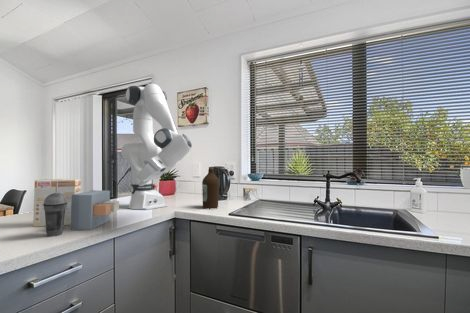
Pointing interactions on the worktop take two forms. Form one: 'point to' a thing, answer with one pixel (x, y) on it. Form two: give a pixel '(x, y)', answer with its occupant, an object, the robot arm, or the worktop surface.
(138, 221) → the worktop surface
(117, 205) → the cream block
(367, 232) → the worktop surface
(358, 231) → the worktop surface
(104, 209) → the terracotta button
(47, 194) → the coffeecake box
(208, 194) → the olive oil
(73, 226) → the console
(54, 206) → the beverage cup
